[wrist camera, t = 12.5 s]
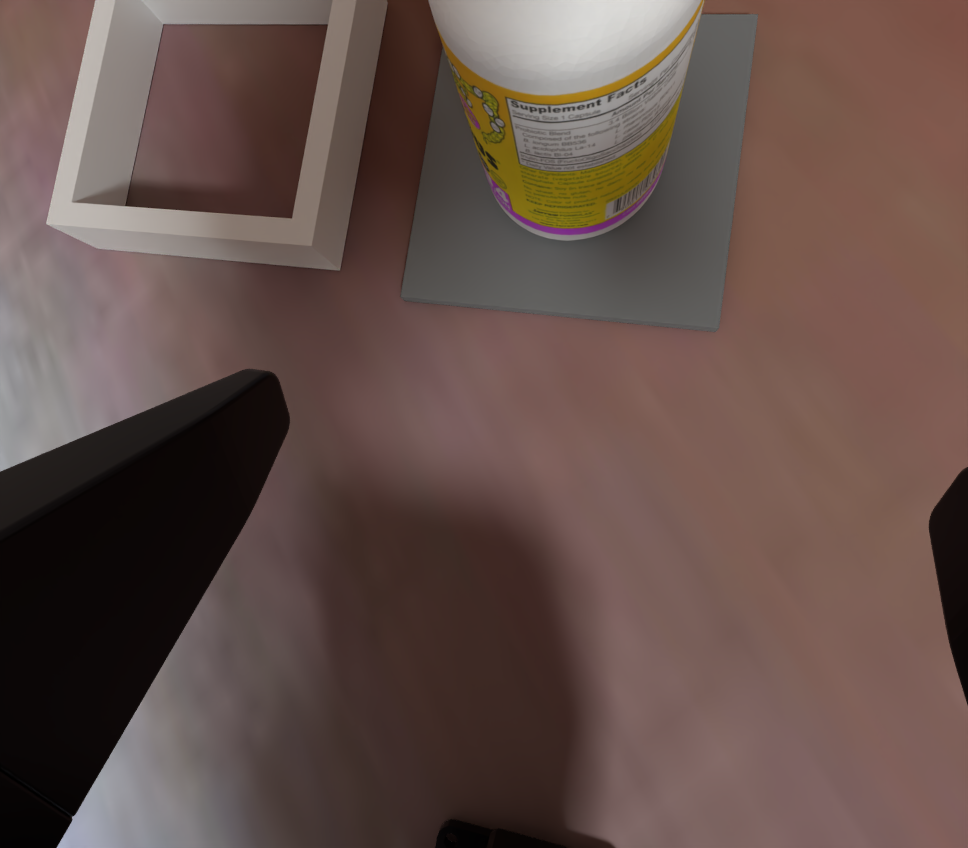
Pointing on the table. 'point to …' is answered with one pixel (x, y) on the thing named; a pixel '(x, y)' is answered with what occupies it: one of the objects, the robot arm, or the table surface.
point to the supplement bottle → (569, 102)
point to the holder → (119, 117)
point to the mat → (610, 256)
